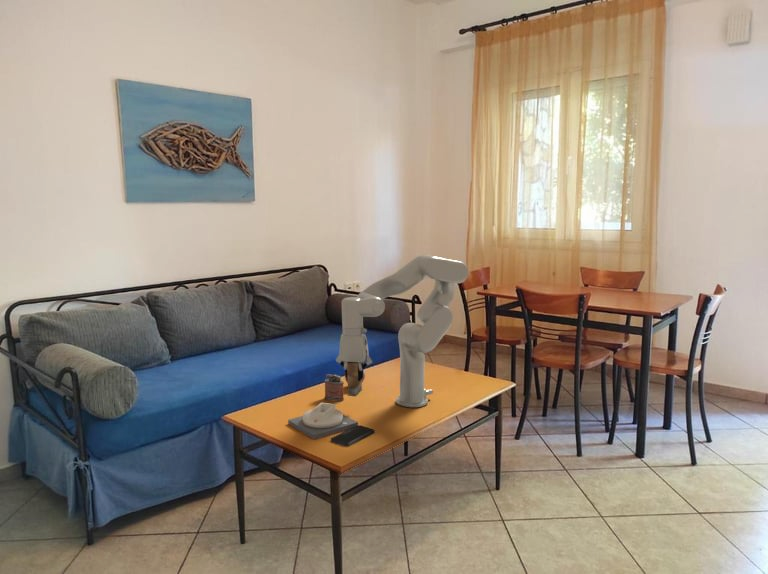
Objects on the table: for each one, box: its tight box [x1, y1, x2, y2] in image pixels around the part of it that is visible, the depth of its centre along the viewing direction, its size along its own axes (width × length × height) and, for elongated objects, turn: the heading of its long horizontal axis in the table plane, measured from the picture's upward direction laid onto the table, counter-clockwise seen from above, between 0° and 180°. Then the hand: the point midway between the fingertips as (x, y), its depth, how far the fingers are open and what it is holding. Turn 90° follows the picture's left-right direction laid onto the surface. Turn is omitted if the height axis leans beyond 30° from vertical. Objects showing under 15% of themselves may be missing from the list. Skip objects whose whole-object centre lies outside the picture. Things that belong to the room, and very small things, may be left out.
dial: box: [302, 402, 344, 428], centre depth 192 cm, size 14×14×4 cm
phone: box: [330, 424, 376, 448], centre depth 183 cm, size 8×1×15 cm
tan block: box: [347, 362, 363, 398], centre depth 203 cm, size 4×7×12 cm, turn 164°
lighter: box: [324, 373, 345, 402], centre depth 218 cm, size 8×3×10 cm, turn 71°
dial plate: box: [287, 414, 359, 440], centre depth 192 cm, size 18×17×2 cm
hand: (354, 379), depth 203 cm, fingers closed on tan block, 4 cm apart
